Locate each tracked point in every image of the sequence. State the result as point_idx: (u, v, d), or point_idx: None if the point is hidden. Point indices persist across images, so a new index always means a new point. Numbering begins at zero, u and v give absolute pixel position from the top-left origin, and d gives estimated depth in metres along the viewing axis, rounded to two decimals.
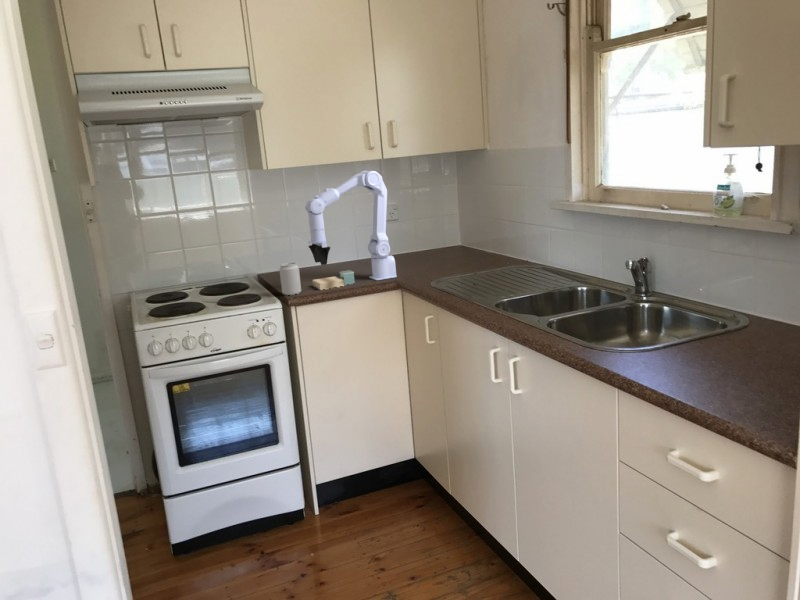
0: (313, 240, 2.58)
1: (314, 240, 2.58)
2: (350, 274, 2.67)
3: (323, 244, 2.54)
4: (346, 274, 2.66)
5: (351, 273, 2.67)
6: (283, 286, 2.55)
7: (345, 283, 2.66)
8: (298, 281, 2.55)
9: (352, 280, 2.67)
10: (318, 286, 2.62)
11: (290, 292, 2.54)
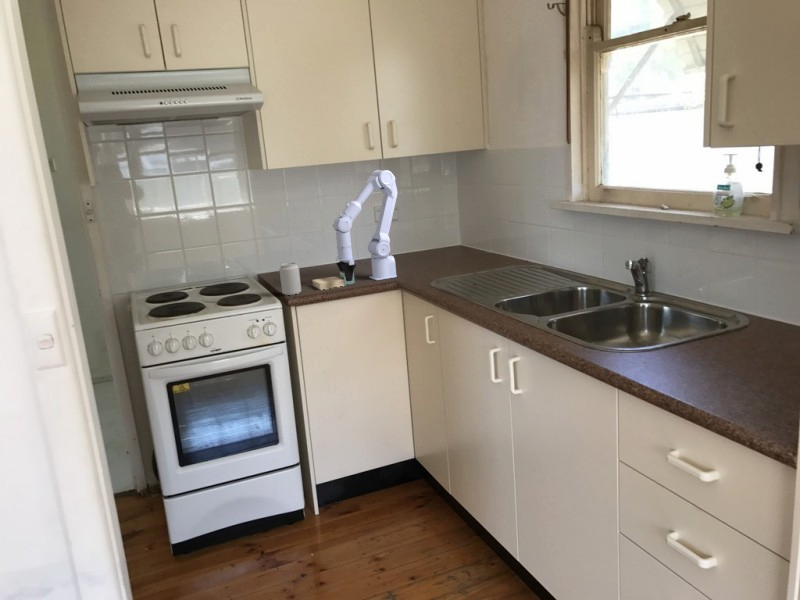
0: (340, 257, 2.64)
1: (341, 257, 2.64)
2: None
3: (350, 262, 2.60)
4: None
5: None
6: (283, 286, 2.55)
7: (345, 283, 2.66)
8: (298, 281, 2.55)
9: (352, 280, 2.67)
10: (318, 286, 2.62)
11: (290, 292, 2.54)
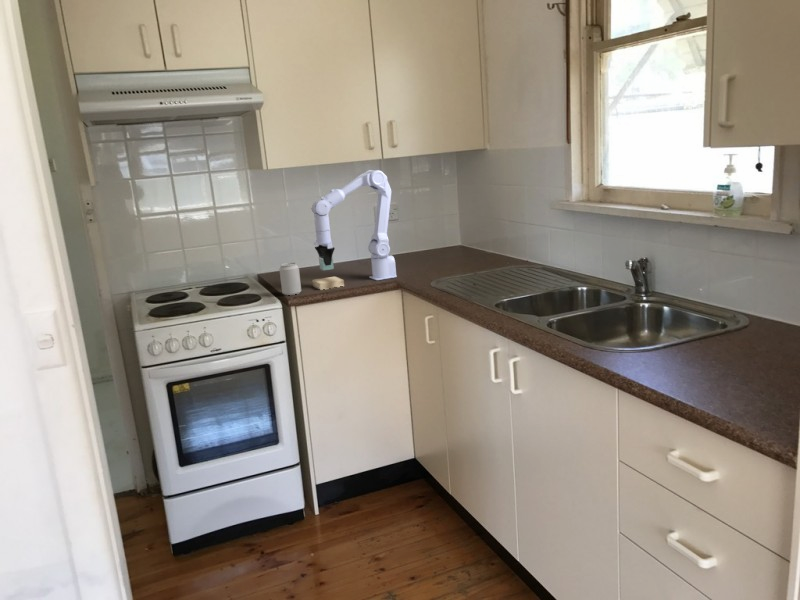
0: (319, 241, 2.60)
1: (320, 241, 2.60)
2: None
3: (329, 245, 2.56)
4: None
5: None
6: (283, 286, 2.55)
7: (324, 268, 2.63)
8: (298, 281, 2.55)
9: (331, 265, 2.64)
10: (318, 286, 2.62)
11: (290, 292, 2.54)
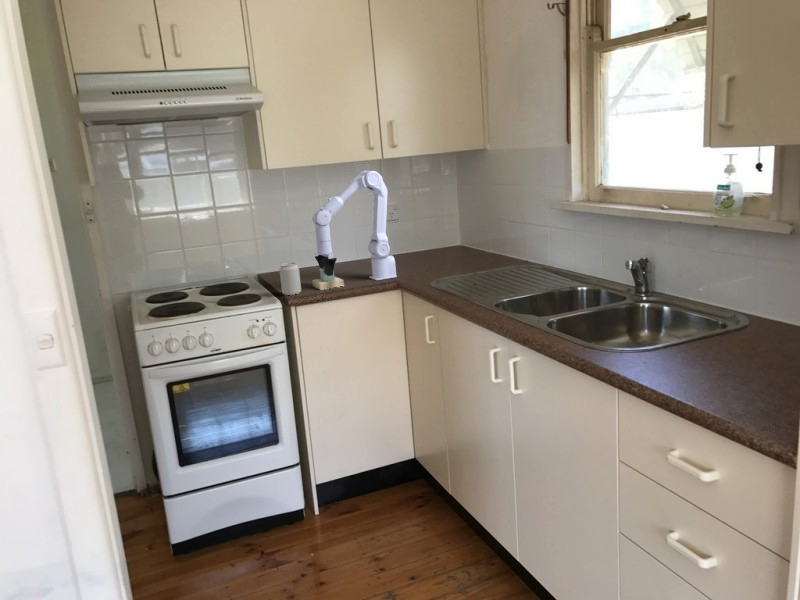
0: (319, 251, 2.61)
1: (320, 251, 2.61)
2: None
3: (329, 255, 2.57)
4: None
5: None
6: (283, 286, 2.55)
7: (325, 279, 2.64)
8: (298, 281, 2.55)
9: (332, 276, 2.65)
10: (318, 286, 2.62)
11: (290, 292, 2.54)
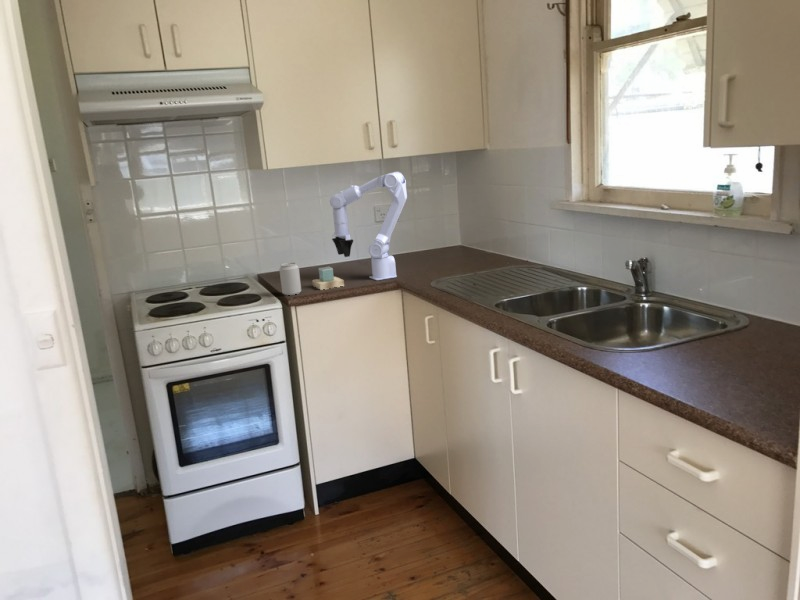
0: (337, 233, 2.72)
1: (338, 233, 2.72)
2: (329, 270, 2.64)
3: (347, 237, 2.68)
4: (325, 270, 2.63)
5: (330, 269, 2.64)
6: (283, 286, 2.55)
7: (324, 280, 2.63)
8: (298, 281, 2.55)
9: (331, 276, 2.64)
10: (318, 286, 2.62)
11: (290, 292, 2.54)
